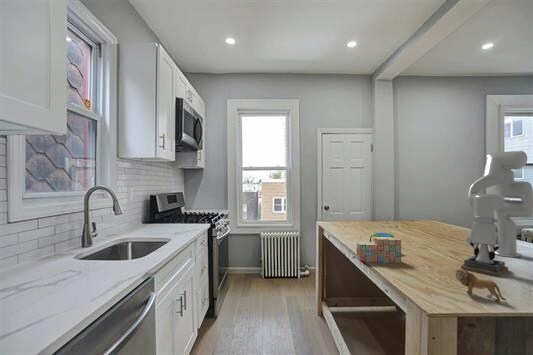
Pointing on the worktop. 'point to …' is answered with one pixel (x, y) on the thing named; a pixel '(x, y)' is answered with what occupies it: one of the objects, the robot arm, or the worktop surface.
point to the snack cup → (381, 235)
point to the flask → (484, 255)
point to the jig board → (485, 267)
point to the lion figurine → (477, 283)
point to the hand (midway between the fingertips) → (484, 257)
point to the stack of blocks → (380, 250)
